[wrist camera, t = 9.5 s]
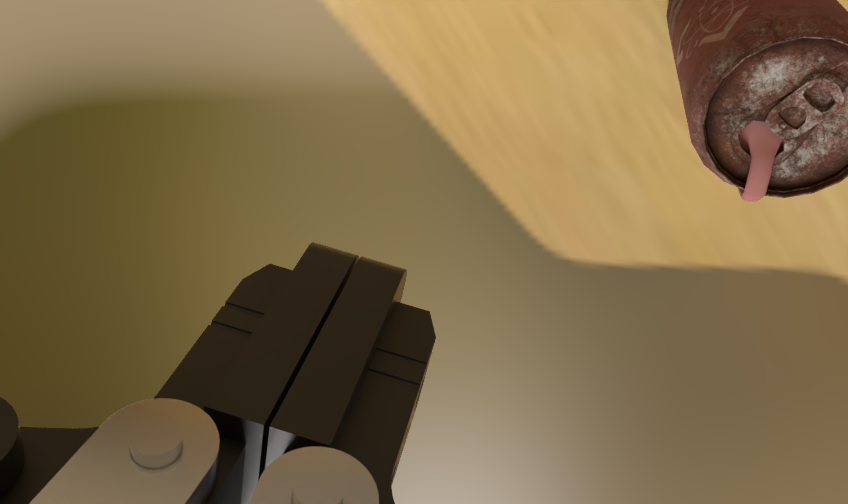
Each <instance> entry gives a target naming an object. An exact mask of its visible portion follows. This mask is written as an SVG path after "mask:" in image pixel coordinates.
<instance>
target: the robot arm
mask: <svg viewBox="0 0 848 504" xmlns="http://www.w3.org/2000/svg"><path fill="white" fill-rule="evenodd" d="M406 275H407V270H406V269H402V268H399V267H395V266H392V265H389V264H385V263H382V262H378V261H375V260H372V259H369V258H365V257H360V259H359V256H358V255H354V254H351V253H348V252H344V251H341V250H338V249H334V248H331V247H328V246H324V245H321V244H317V243H314V242H313V243H311V244H310V245H309V247H308V248H307V250H306V251H305V253H304V254H303V256H302V257H301V259H300V260H299V262H298V263H297V265H296V266H295V268H294V269H293V271H292V270H289V269H286V268H282V267H279V266H276V265H272V264H269V265H267V266H265V267H263V268H262V269H260V270H258V271H256V272H254V273H253V274H251V275H249V276H247V277H246V278H244V279H243V280H242V281H241V282H240V283H239V285H238V286H237V288H236V289H235V290H234V292H233V293H232V294H231V296H230V297H229V298H228V300H227V301H226V304H225V306H224V307H223V306H222V308H221V309H220V310H219V312H218V313H217V314H216V316H215V317H214V319H213V320H212V323H211V325H208V327H207V328H206V329H205V331H204V332H203V333H202V335H201V336H200V337H199V339H198V340H197V341H196V343H195V344H194V345H193V347H192V348H191V349H190V351H189V352H188V354H187V355H186V356H185V358H184V359H183V360H182V362H181V363H180V364H179V366H178V367H177V368H176V370H175V371H174V372H173V374H172V375H171V376H170V378H169V379H168V381H167V382H166V384H165V385H164V386H163V387H162V389H161V390H160V391H159V393H158V394H157V395H156V396H155V397H154V399H148V400H144V401H140V402H136V403H134V404H131V405H128V406H126V407H124V408H122V409H120V410H119V411H117V412H116V413H114V414H113V415H111V416H110V417H109V418H108V419H107V420H106V421H105V422H104V423H103V424H102V425H101V426H100V427H94V428H83V429H65V428H32V427H20V426H19V421H18V417H17V414H16V412H15V411H14V409H13V407H12V406H11V405H10V404H9V403H8V402H6V400H4V399H2V398H0V504H395V503H394V500H393V496H392V489H391V485H392V483H393V479H394V476H395V473H396V470H397V467H398V464H399V461H400V457H401V454H402V451H403V448H404V445H405V442H406V438H407V435H408V432H409V429H410V426H411V423H412V419H413V417H414V413H415V410H416V407H417V404H418V400H419V396H420V393H421V389H422V385H423V382H424V379H425V375H426V371H427V367H428V364H429V361H430V357H431V353H432V349H433V346H434V343H435V339H436V336H435V333H434V328H433V324H432V319H431V315H430V312H429V311H426V310H423V309H419V308H416V307H413V306H409V305H406V304H402V303H400V302H401V298H402V293H403V289H404V285H405V281H406Z"/></svg>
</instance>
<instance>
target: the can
mask: <svg viewBox="0 0 848 504" xmlns="http://www.w3.org/2000/svg"><path fill="white" fill-rule="evenodd" d="M667 21H668V28H669V35H670V40H671V45H672V49H673V54H674V59H675V64H676V69H677V74H678V79H679V83H680V88H681V93H682V98H683V103H684V108H685V113H686V118H687V122H688V127H689V132H690V137H691V142H692V144H693V146H694V148H695V149H696V151H697V153H698V155H699V157H700V158H701V160H702V162H703V164H704V165H705V166H706V167H707V168H709V169H710V170H711V171H712V172H713V173H715V174H716V175H717V176H718V177H719V178H721V179H722V180H723V181H724V182H727V183H729V184H732V185H734V186H736V187H738V189H739V193H740V196H741V198H742V199H743V200H745V201H758V200H760V199H761V198H762V197H763V196H772V197H782V198H786V197H793V196H799V195H805V194H812V193H815V192H817V191H820V190H822V189H824V188H827V187H829V186H832V185H834V184H836V183H839V182H841V181H842V180H843V179H845V178H846V177H847V176H848V12H847V11H846V10H845V8H844V7H843V6H842V5H841V4H840V3H839V2H838V1H837V0H669V5H668V10H667Z"/></svg>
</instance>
